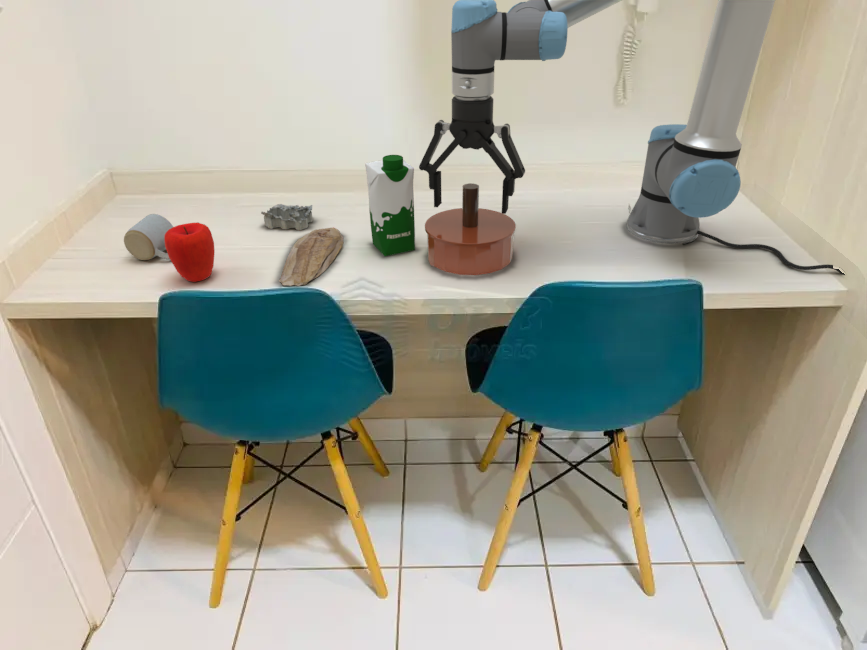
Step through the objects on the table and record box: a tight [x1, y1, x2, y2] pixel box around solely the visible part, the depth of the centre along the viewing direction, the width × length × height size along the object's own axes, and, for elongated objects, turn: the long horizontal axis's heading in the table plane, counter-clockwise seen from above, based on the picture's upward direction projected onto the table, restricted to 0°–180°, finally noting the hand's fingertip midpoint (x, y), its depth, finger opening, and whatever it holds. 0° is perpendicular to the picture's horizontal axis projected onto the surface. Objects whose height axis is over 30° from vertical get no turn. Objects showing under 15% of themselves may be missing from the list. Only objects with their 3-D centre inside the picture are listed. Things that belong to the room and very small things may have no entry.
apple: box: [165, 222, 215, 283], centre depth 122 cm, size 9×9×11 cm
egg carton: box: [260, 203, 314, 231], centre depth 146 cm, size 11×8×4 cm
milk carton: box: [364, 154, 416, 257], centre depth 130 cm, size 9×9×20 cm
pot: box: [426, 233, 515, 276], centre depth 128 cm, size 17×17×7 cm
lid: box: [424, 182, 517, 247], centre depth 124 cm, size 18×18×9 cm
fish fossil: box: [278, 227, 344, 287], centre depth 131 cm, size 26×10×1 cm, turn 179°
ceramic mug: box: [123, 213, 174, 261], centre depth 131 cm, size 11×8×8 cm
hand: (470, 208), depth 124 cm, fingers open, 13 cm apart
